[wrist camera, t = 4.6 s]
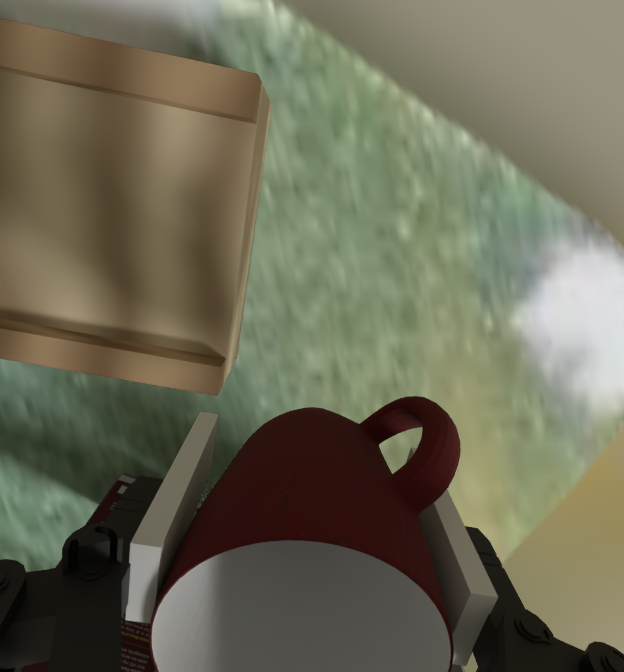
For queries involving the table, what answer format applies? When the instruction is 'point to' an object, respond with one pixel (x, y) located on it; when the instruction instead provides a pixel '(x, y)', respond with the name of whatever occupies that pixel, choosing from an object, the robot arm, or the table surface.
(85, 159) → the pedestal
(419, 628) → the mug
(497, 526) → the table surface
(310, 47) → the table surface
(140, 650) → the supplement box
